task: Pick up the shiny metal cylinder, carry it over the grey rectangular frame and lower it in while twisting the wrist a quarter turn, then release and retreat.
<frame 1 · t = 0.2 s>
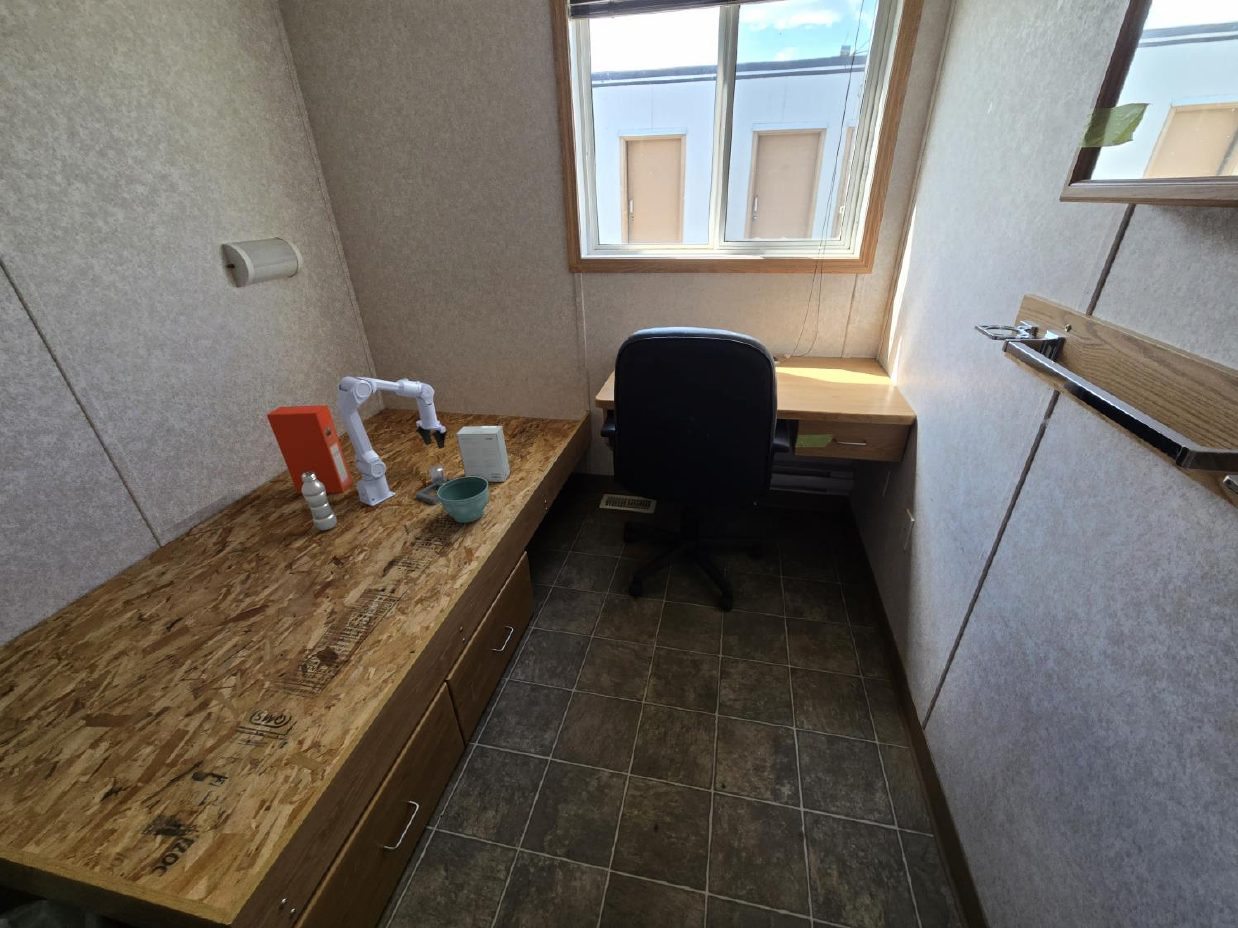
hand: (435, 445, 197), 10 cm above the platform, fingers open, 7 cm apart
file binder: (326, 488, 191), on the platform
hard drive box: (488, 477, 193), on the platform
shiny metal cylinder: (439, 482, 191), on the platform
plastic bottle: (327, 527, 166), on the platform
flower pot: (468, 516, 169), on the platform
grey rectangular frame: (436, 495, 182), on the platform
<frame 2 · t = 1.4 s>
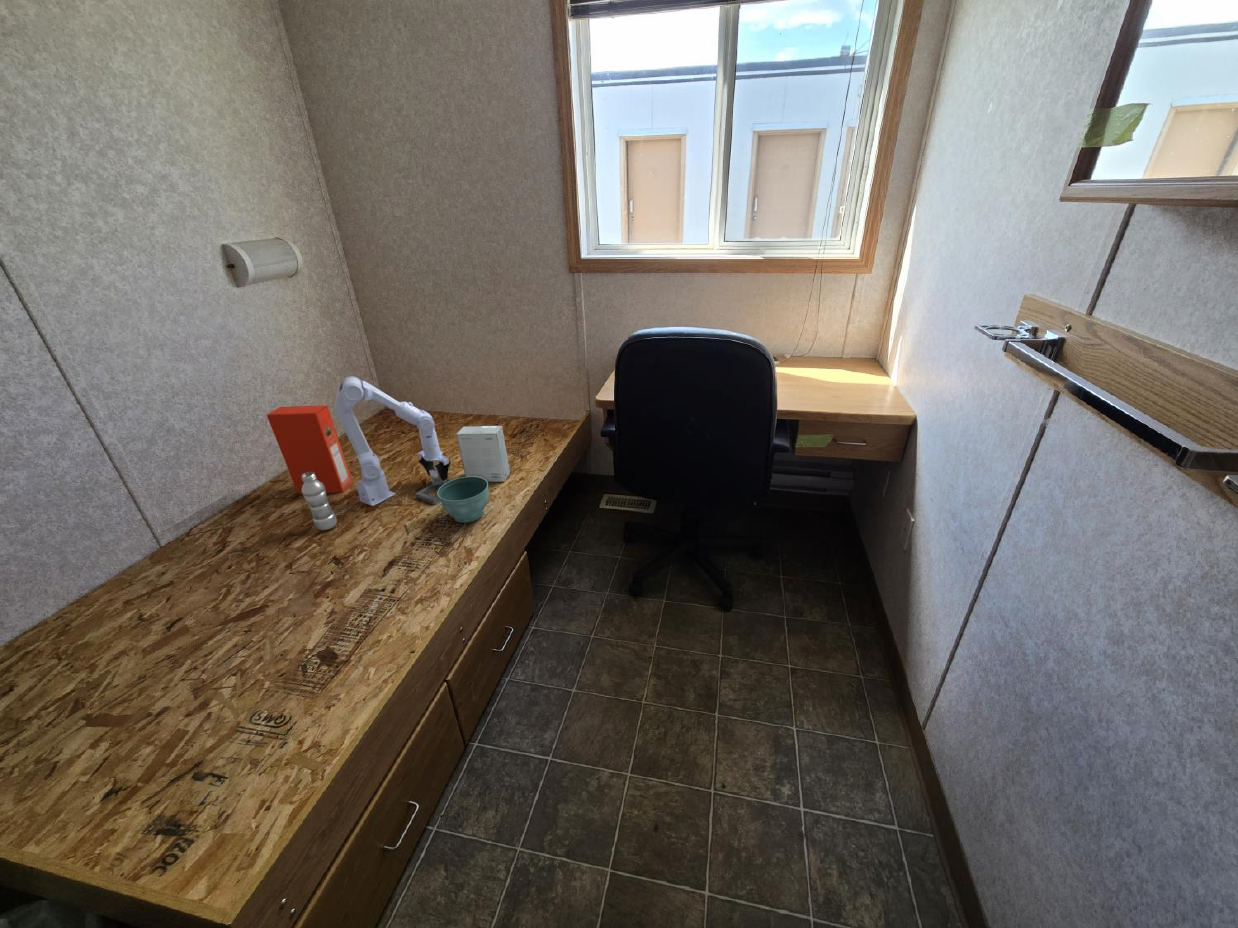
hand: (438, 477, 190), 2 cm above the platform, fingers open, 7 cm apart
nothing on the platform moved.
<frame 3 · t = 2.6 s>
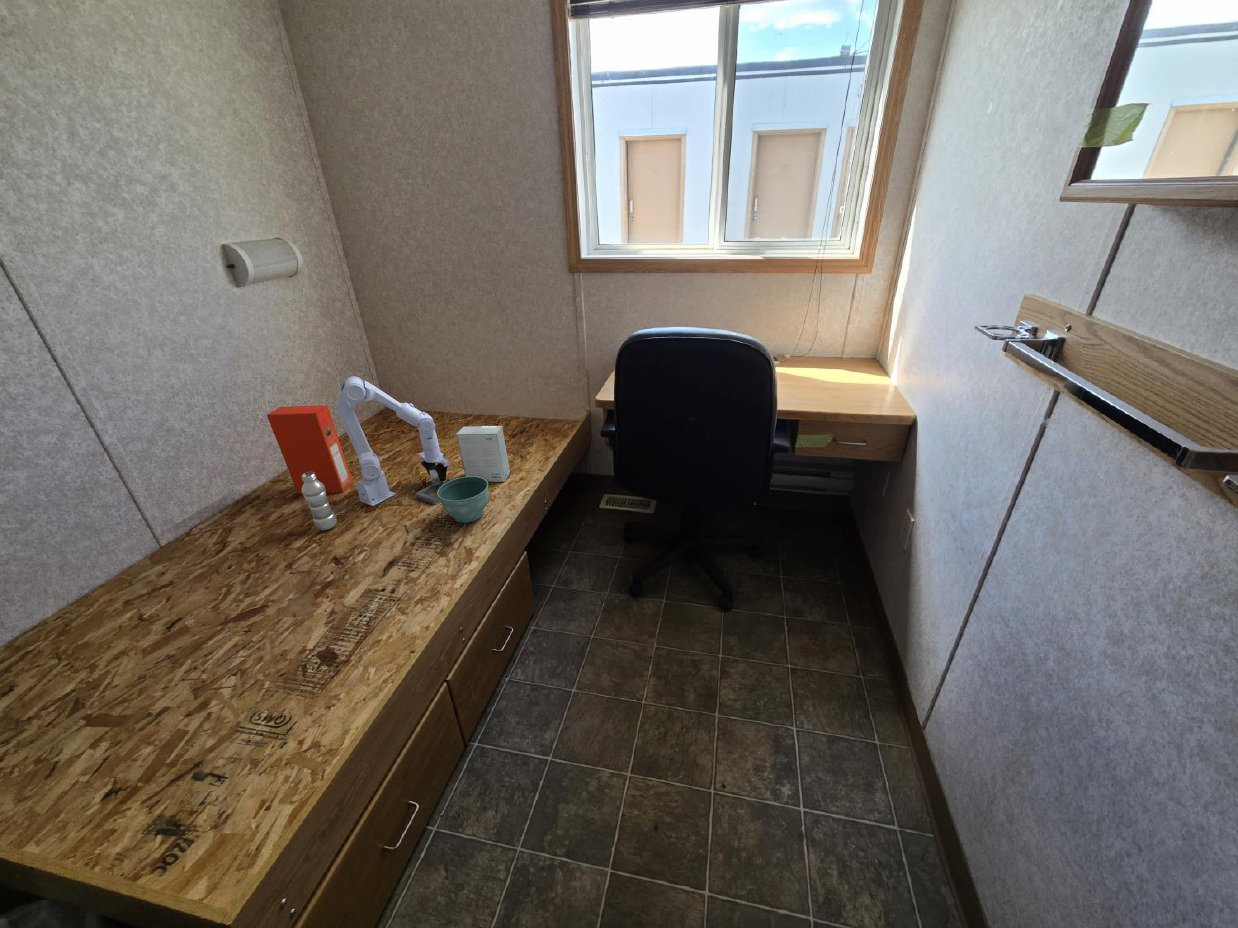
hand: (438, 478, 190), 2 cm above the platform, fingers closed on shiny metal cylinder, 5 cm apart
shiny metal cylinder: (439, 482, 191), on the platform, touching gripper
everything else where it was.
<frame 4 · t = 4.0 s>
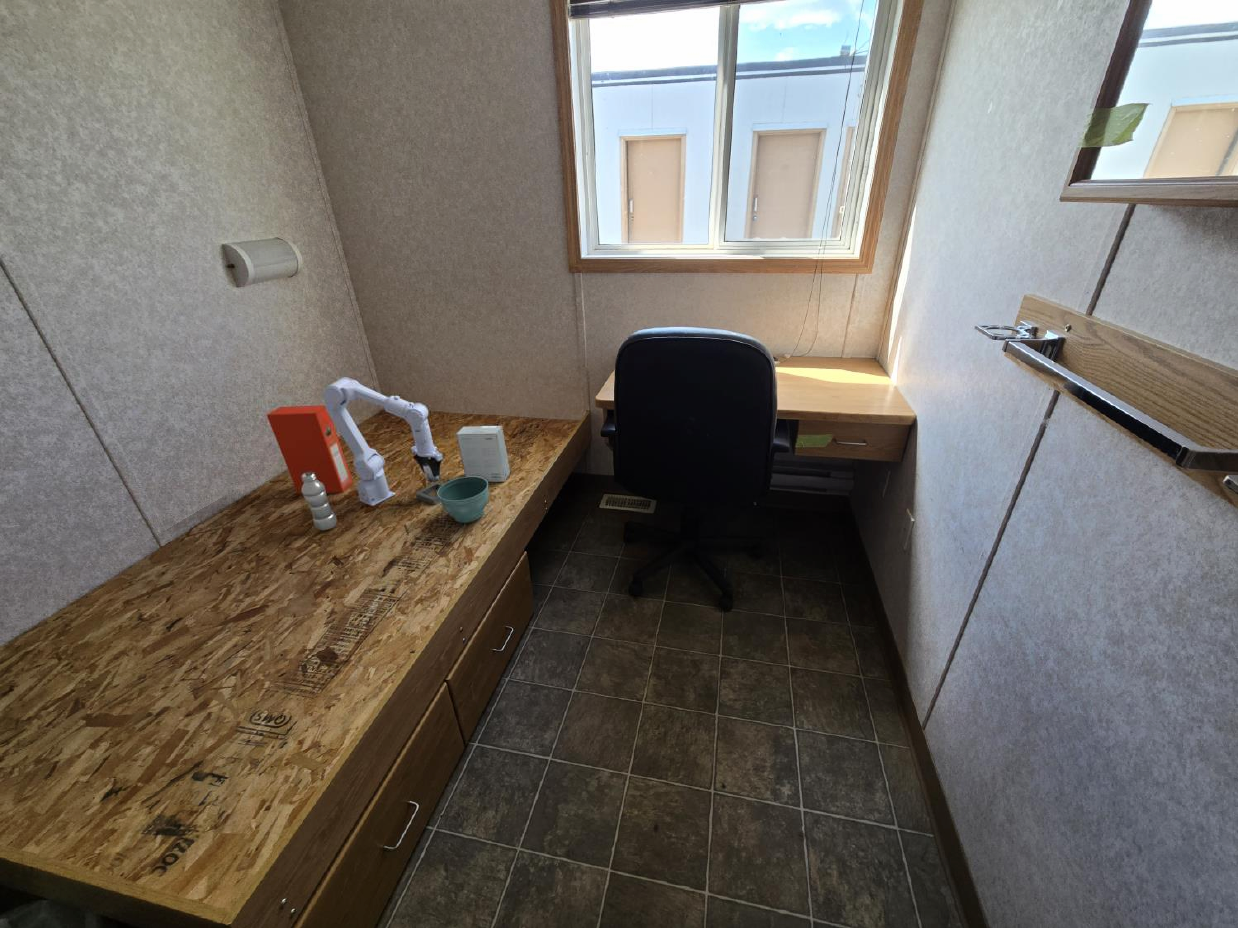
hand: (431, 473, 178), 9 cm above the platform, fingers closed on shiny metal cylinder, 5 cm apart
shiny metal cylinder: (433, 478, 180), point 7 cm above the platform, touching gripper
everything else where it was.
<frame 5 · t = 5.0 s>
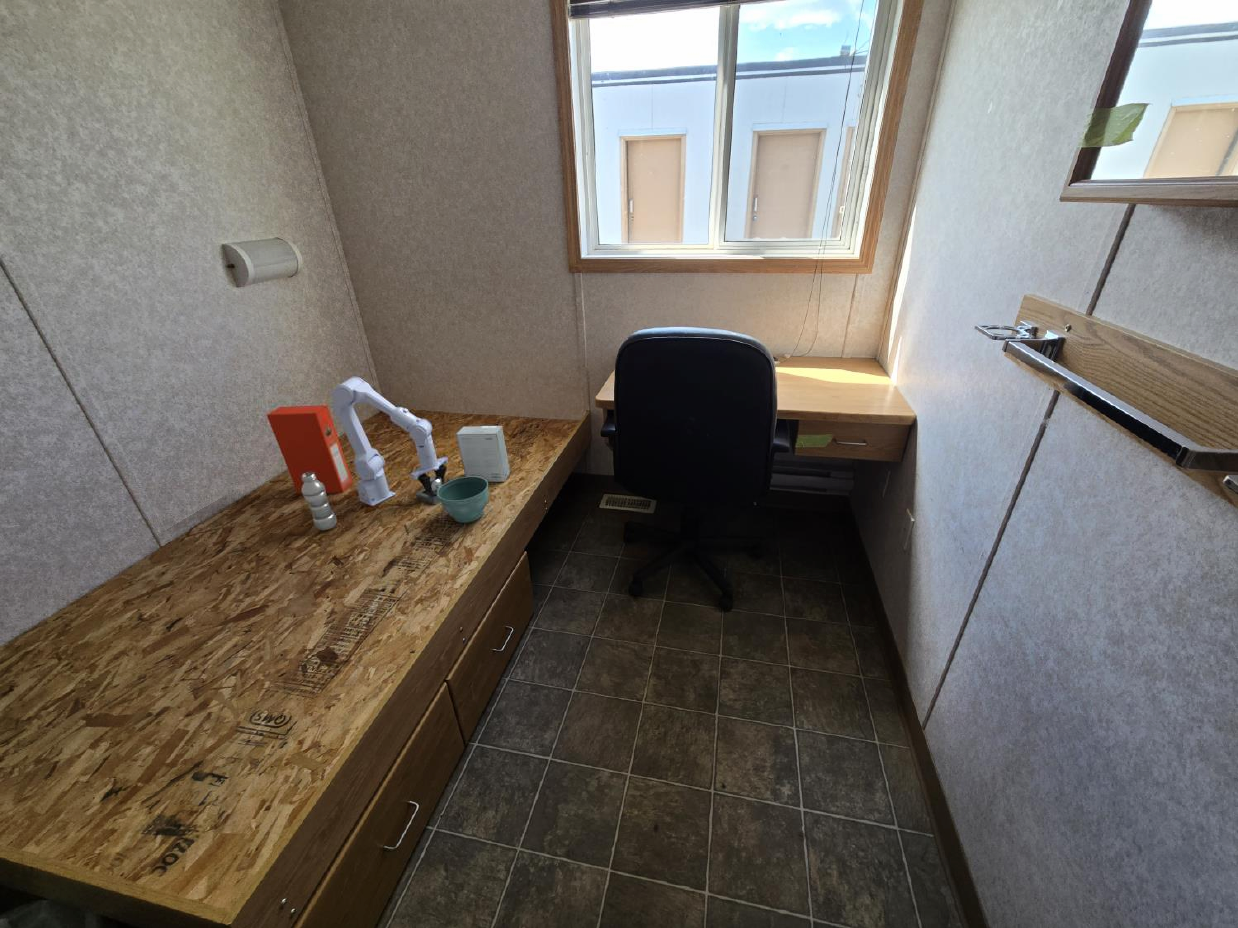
hand: (435, 488, 181), 3 cm above the platform, fingers closed on shiny metal cylinder, 5 cm apart
shiny metal cylinder: (437, 493, 182), point 1 cm above the platform, touching gripper
everything else where it was.
when the fingers open (3 cm above the platform, at t = 5.8 s): shiny metal cylinder stays where it is, resting in grey rectangular frame.
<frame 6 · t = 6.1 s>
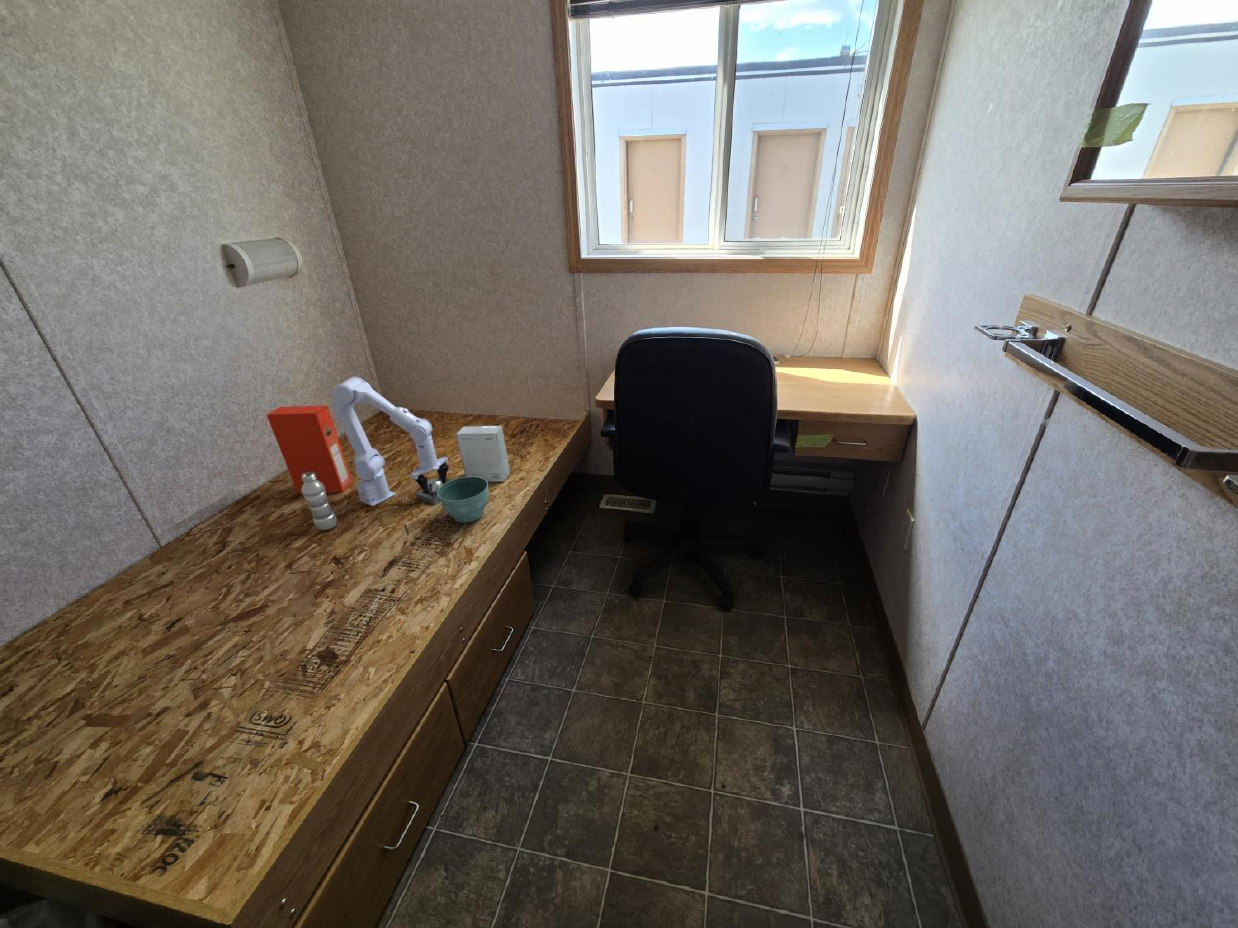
hand: (435, 488, 181), 3 cm above the platform, fingers open, 7 cm apart
shiny metal cylinder: (437, 495, 182), resting in grey rectangular frame
everything else where it was.
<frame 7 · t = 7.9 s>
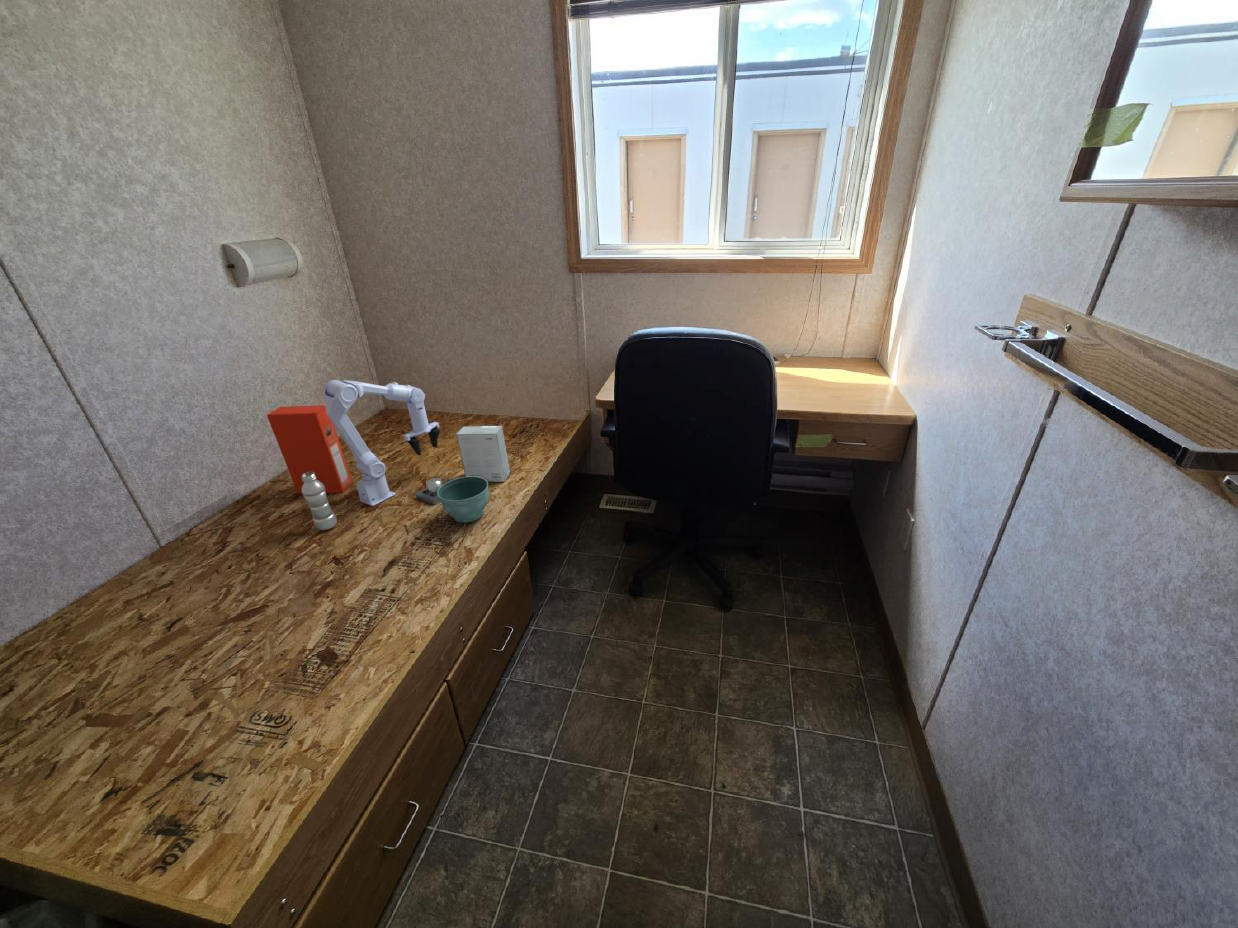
hand: (426, 450, 193), 10 cm above the platform, fingers open, 7 cm apart
nothing on the platform moved.
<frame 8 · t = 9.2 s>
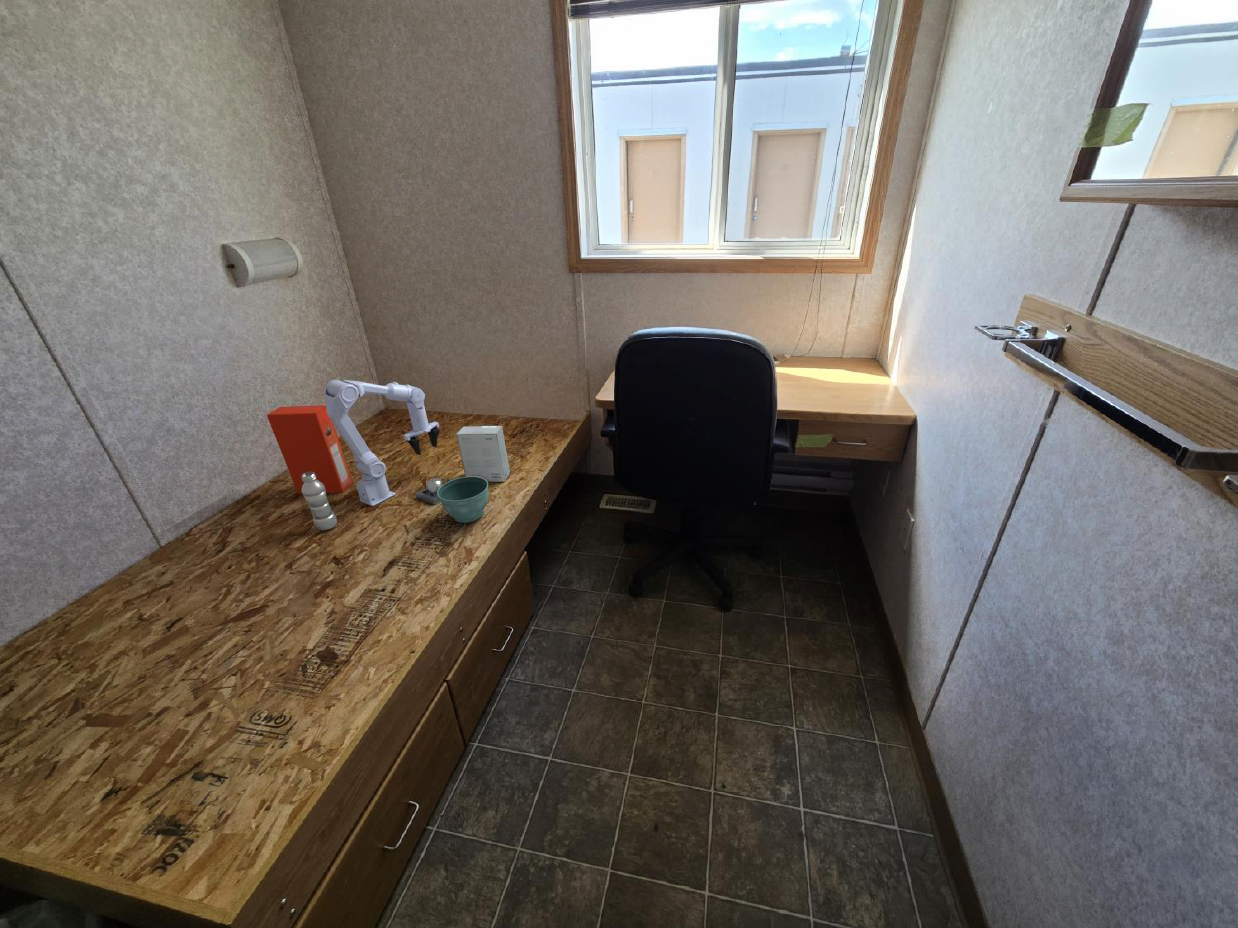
hand: (426, 450, 194), 10 cm above the platform, fingers open, 7 cm apart
nothing on the platform moved.
at the end: shiny metal cylinder 0.4 cm off-centre on the grey rectangular frame, point 0.0 cm above the grey rectangular frame's base; shiny metal cylinder tilted 0°; the gripper is holding nothing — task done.
